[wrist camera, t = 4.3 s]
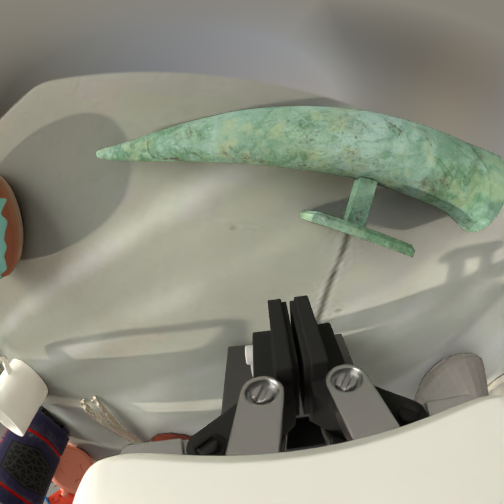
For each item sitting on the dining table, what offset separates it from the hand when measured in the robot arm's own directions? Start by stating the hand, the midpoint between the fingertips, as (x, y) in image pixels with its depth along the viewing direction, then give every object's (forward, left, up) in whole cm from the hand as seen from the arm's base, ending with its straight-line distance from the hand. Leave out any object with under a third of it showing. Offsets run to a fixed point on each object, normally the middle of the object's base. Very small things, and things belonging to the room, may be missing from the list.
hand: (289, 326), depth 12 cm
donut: (+29, -7, -11) cm, 32 cm away
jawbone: (+24, +28, -11) cm, 39 cm away
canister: (+47, +32, -11) cm, 58 cm away
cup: (+40, +16, -11) cm, 45 cm away
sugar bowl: (+43, +41, -3) cm, 60 cm away
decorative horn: (+11, -13, -10) cm, 20 cm away
